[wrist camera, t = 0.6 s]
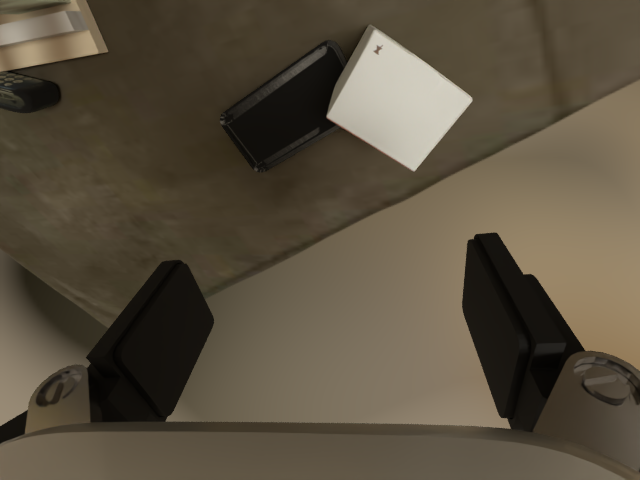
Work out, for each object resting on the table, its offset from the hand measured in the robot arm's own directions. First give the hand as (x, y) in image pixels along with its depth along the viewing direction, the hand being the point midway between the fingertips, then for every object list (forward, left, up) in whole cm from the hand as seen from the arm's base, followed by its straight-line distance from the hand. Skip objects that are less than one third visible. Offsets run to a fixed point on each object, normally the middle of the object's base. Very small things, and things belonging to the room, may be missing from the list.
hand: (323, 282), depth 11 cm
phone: (0, -6, -29) cm, 30 cm away
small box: (-2, +4, -29) cm, 29 cm away
